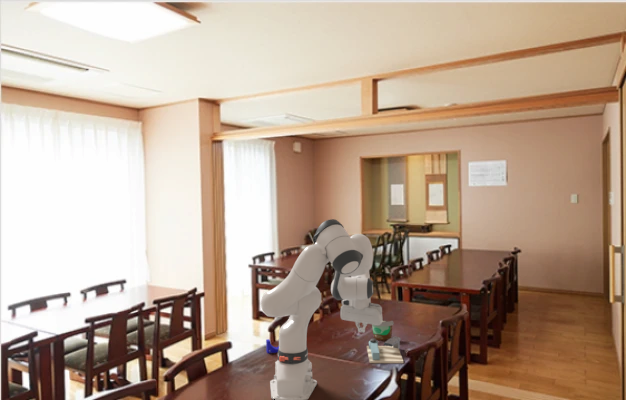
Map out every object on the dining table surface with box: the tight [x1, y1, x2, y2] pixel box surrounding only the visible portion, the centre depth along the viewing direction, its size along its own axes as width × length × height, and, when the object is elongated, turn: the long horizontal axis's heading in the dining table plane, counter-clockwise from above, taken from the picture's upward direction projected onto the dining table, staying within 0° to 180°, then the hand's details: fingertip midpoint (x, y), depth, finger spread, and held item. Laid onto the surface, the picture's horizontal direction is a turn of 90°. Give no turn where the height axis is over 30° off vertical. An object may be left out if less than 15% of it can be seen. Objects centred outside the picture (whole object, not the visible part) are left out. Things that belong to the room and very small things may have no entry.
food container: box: [371, 320, 395, 342], centre depth 229 cm, size 12×6×10 cm, turn 62°
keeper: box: [383, 336, 401, 350], centre depth 210 cm, size 4×11×6 cm, turn 147°
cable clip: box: [265, 338, 279, 354], centre depth 216 cm, size 12×4×6 cm, turn 106°
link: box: [368, 340, 380, 360], centre depth 207 cm, size 18×4×3 cm, turn 177°
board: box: [366, 337, 404, 364], centre depth 206 cm, size 20×15×5 cm
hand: (361, 331), depth 201 cm, fingers closed
